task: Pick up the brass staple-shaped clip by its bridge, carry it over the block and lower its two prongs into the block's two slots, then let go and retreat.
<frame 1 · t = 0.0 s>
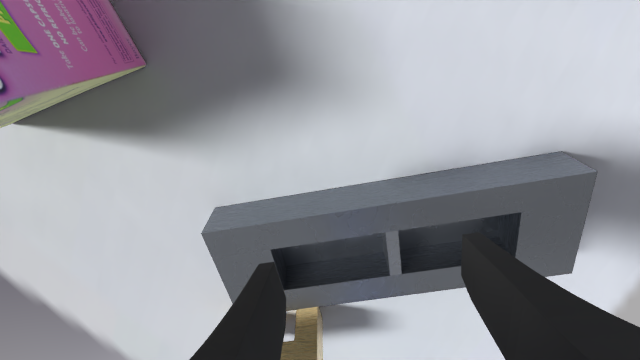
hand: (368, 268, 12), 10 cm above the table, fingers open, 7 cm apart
block: (385, 227, 24), on the table
clip: (281, 315, 28), on the table
box: (45, 47, 18), on the table
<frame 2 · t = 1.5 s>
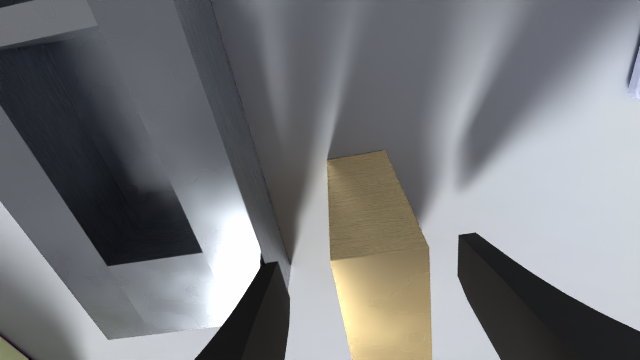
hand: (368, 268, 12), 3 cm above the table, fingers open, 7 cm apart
block: (95, 20, 11), on the table
clip: (365, 223, 15), on the table
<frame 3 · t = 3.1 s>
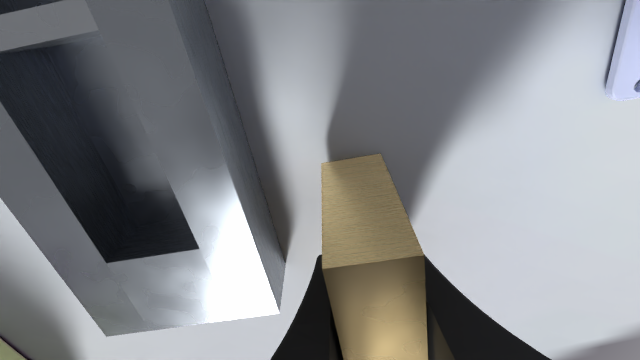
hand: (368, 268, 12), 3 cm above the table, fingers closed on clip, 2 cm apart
block: (95, 24, 11), on the table
clip: (361, 227, 14), point 1 cm above the table, touching gripper
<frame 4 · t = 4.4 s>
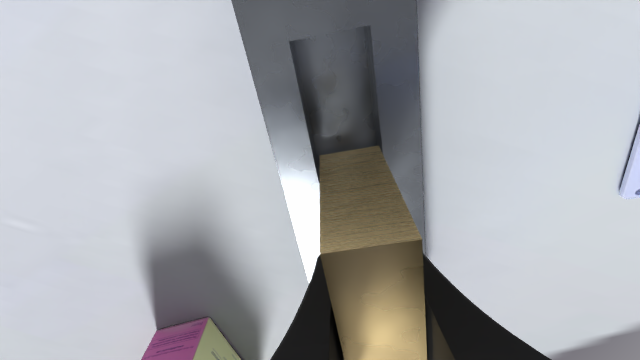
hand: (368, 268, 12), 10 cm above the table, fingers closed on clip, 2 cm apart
block: (348, 162, 21), on the table
clip: (359, 221, 14), point 7 cm above the table, touching gripper
box: (210, 354, 31), on the table
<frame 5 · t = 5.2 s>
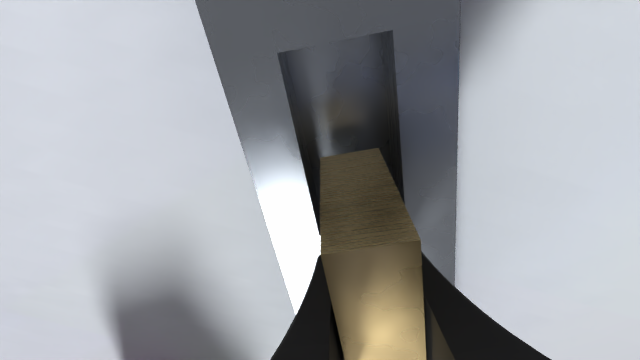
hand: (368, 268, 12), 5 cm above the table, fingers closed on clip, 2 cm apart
block: (356, 200, 17), on the table
clip: (359, 222, 14), point 2 cm above the table, touching gripper
when the fingers open (4 cm above the table, at t = 6.0 s): clip drops 1 cm, resting on block.
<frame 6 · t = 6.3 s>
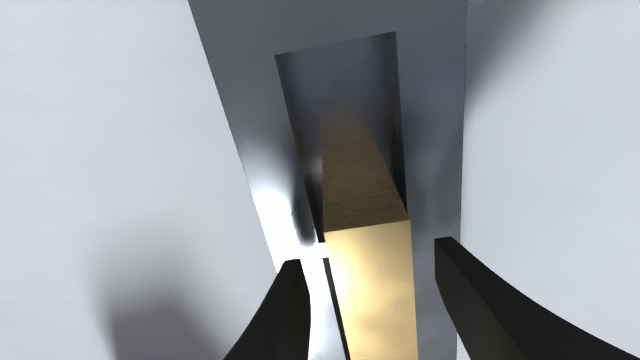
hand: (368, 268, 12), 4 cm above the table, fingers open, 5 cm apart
block: (356, 206, 16), on the table
clip: (357, 210, 16), resting on block
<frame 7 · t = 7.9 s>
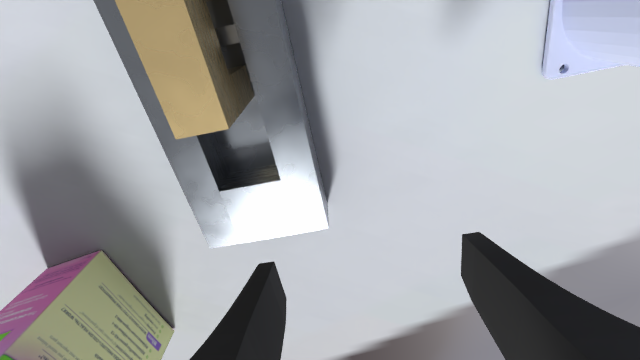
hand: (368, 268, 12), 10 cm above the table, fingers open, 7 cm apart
block: (216, 37, 18), on the table
clip: (214, 37, 17), resting on block
box: (115, 298, 28), on the table
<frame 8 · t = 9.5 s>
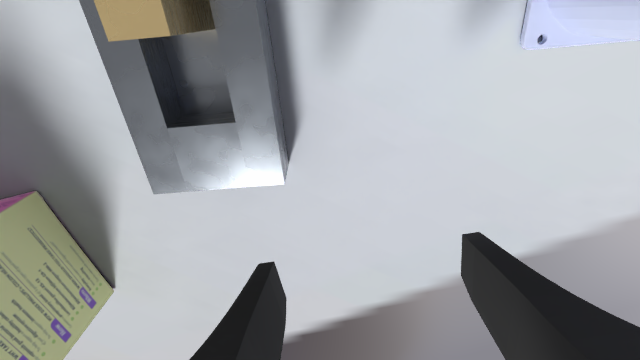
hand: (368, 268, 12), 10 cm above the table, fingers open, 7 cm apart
box: (51, 249, 25), on the table
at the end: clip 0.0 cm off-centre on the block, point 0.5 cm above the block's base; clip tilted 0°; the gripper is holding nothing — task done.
